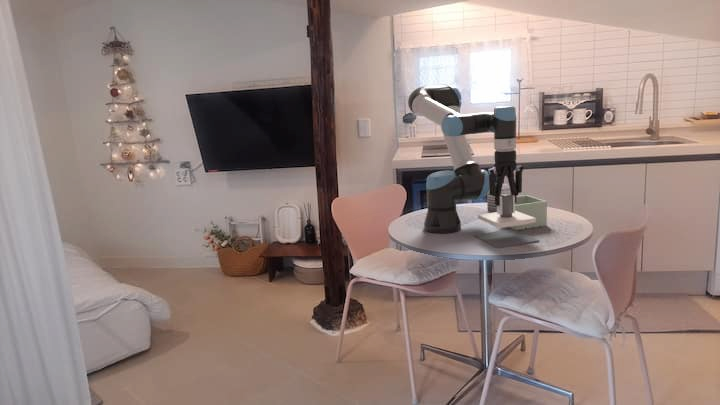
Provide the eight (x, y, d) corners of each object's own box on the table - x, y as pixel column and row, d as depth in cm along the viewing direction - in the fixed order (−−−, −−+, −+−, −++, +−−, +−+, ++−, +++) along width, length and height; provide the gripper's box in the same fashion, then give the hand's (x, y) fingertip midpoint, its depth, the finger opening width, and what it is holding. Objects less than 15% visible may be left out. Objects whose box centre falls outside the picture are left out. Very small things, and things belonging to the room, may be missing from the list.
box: (515, 230, 192) (515, 205, 190) (497, 222, 205) (497, 198, 203) (546, 225, 195) (547, 201, 193) (526, 217, 208) (526, 195, 206)
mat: (496, 248, 172) (496, 246, 172) (474, 235, 188) (474, 234, 188) (539, 241, 176) (539, 240, 176) (513, 230, 192) (513, 228, 192)
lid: (498, 229, 172) (497, 201, 170) (478, 220, 186) (477, 194, 184) (535, 224, 175) (535, 196, 173) (513, 215, 190) (512, 189, 187)
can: (500, 206, 231) (500, 181, 229) (518, 210, 221) (518, 184, 219) (481, 210, 226) (481, 185, 224) (499, 215, 216) (498, 188, 214)
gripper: (488, 153, 170) (489, 218, 175) (532, 148, 174) (532, 212, 178) (478, 151, 177) (479, 213, 182) (520, 147, 181) (521, 208, 186)
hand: (505, 212), depth 180 cm, fingers closed on lid, 4 cm apart
